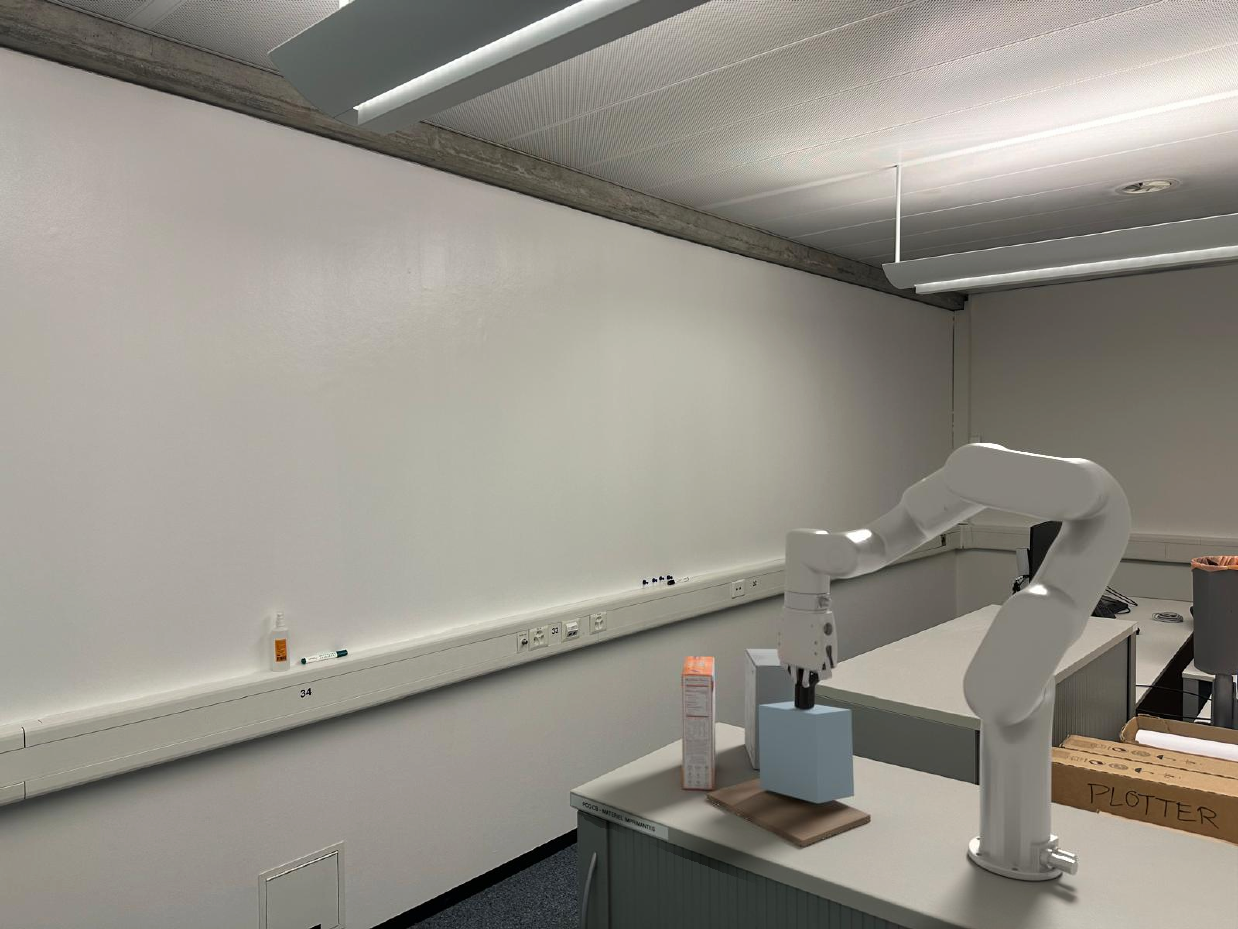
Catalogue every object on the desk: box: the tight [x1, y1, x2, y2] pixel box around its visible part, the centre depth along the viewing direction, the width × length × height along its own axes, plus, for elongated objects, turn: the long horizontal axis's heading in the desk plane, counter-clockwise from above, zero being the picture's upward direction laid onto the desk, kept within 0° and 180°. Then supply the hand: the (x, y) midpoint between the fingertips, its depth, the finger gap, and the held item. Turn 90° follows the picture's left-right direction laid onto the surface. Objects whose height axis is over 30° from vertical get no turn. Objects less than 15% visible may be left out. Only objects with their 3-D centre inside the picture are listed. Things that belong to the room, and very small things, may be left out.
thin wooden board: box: [706, 777, 872, 848], centre depth 142 cm, size 22×16×1 cm
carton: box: [759, 700, 855, 803], centre depth 146 cm, size 13×14×9 cm
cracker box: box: [681, 655, 716, 791], centre depth 157 cm, size 14×6×21 cm, turn 172°
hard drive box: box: [744, 648, 795, 770], centre depth 168 cm, size 16×8×20 cm, turn 179°
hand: (804, 707), depth 145 cm, fingers closed
